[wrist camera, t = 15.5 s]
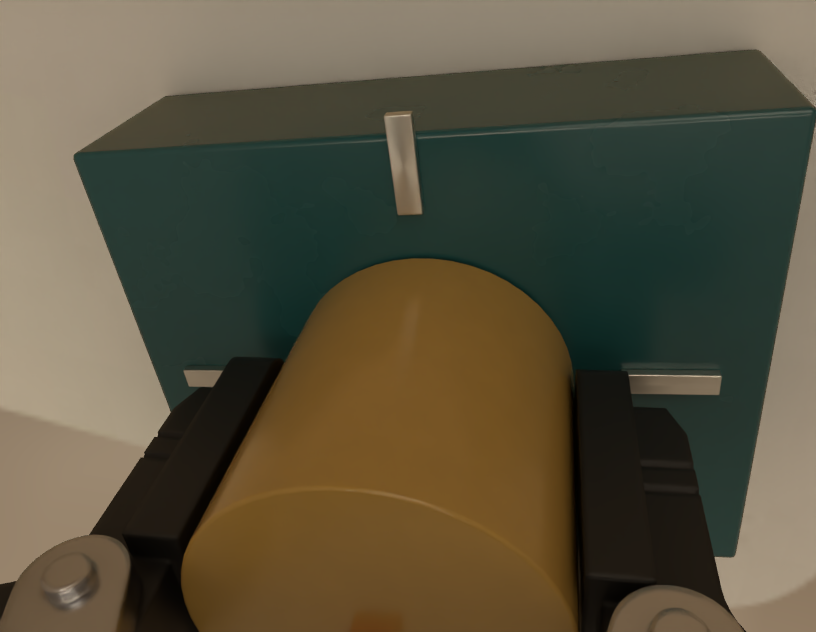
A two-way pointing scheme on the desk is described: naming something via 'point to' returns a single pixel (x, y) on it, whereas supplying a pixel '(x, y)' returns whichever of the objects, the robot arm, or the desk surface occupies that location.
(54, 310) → the desk surface
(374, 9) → the desk surface
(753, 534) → the desk surface
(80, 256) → the desk surface
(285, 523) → the tan cylinder
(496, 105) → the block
